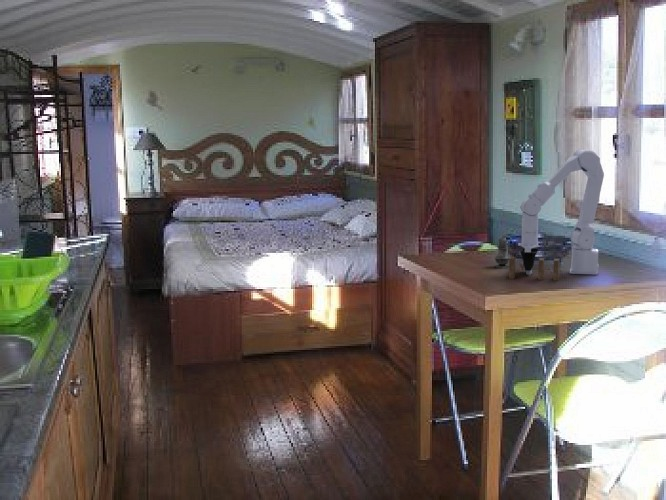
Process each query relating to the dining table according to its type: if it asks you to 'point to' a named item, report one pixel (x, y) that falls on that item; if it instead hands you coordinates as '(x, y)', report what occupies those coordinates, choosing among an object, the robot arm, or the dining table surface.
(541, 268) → the domino
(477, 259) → the dining table surface
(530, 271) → the domino
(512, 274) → the domino
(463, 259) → the dining table surface
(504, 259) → the salt shaker
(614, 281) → the dining table surface
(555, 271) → the domino
